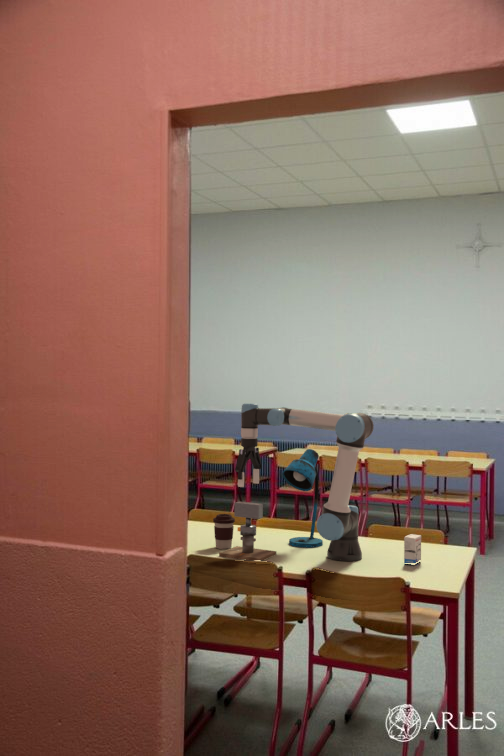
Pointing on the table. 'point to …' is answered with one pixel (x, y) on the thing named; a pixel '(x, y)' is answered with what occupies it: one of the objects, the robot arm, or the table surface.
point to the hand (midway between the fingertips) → (248, 485)
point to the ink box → (412, 548)
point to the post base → (247, 556)
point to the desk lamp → (302, 479)
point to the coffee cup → (223, 530)
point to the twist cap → (248, 516)
